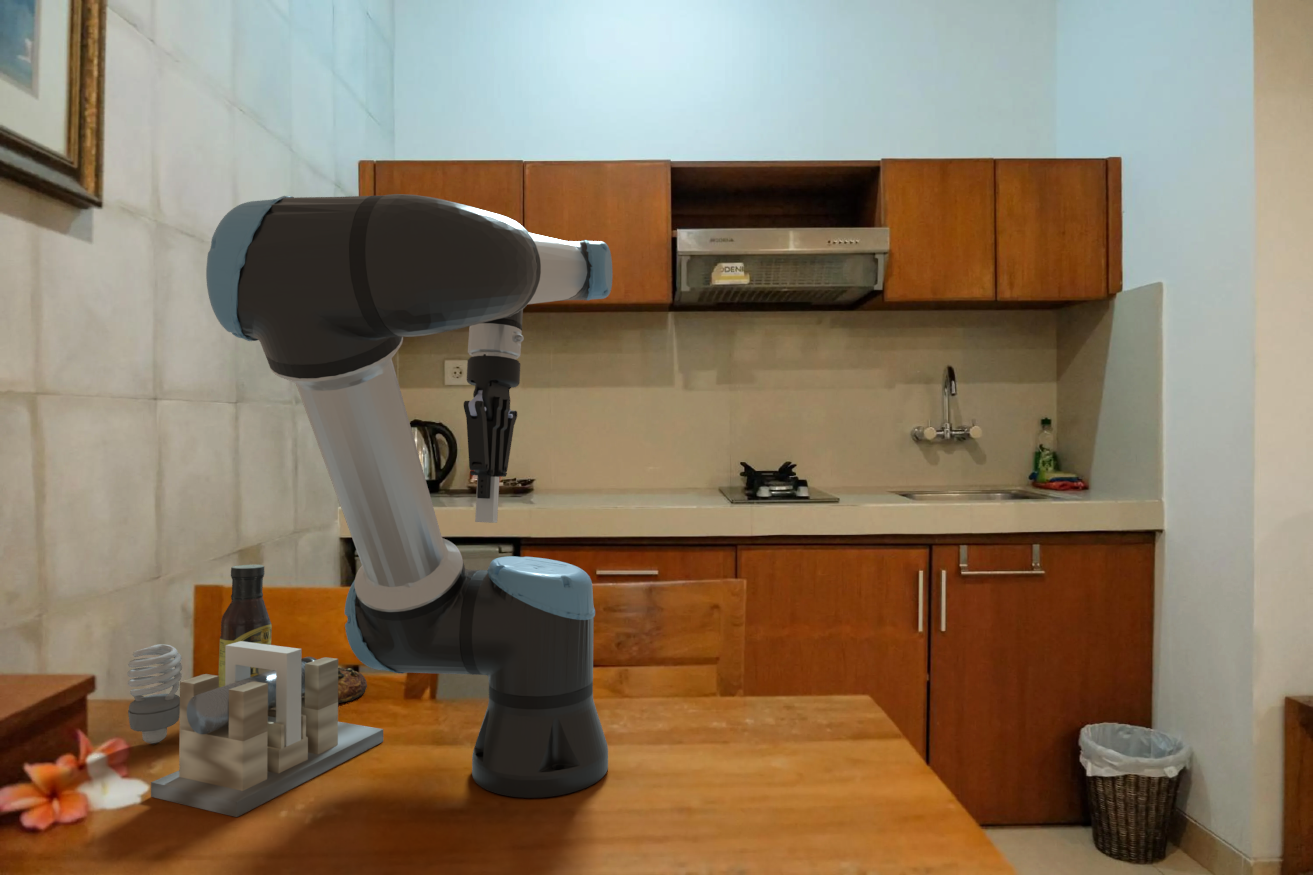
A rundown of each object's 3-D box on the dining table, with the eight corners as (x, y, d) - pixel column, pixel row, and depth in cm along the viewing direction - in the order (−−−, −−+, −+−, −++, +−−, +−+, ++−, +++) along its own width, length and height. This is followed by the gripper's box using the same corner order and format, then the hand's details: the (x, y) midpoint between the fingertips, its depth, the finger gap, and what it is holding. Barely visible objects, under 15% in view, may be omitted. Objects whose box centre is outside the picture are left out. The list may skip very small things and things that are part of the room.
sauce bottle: (247, 723, 103) (248, 571, 103) (206, 720, 104) (207, 569, 104) (281, 707, 109) (282, 563, 109) (241, 704, 111) (242, 561, 111)
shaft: (296, 691, 95) (296, 654, 95) (324, 695, 93) (324, 658, 93) (185, 733, 81) (185, 690, 81) (216, 739, 80) (216, 695, 80)
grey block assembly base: (383, 741, 97) (383, 647, 97) (236, 817, 78) (237, 699, 78) (307, 728, 101) (308, 638, 101) (150, 796, 82) (151, 685, 82)
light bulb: (186, 733, 99) (187, 637, 99) (175, 749, 94) (175, 648, 94) (134, 738, 98) (135, 641, 98) (120, 755, 92) (120, 652, 92)
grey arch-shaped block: (300, 739, 87) (301, 648, 87) (286, 746, 85) (287, 653, 85) (240, 728, 90) (240, 640, 90) (224, 734, 88) (225, 645, 88)
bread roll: (383, 686, 119) (379, 654, 118) (337, 721, 108) (332, 686, 108) (319, 683, 122) (315, 652, 121) (267, 717, 111) (263, 683, 110)
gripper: (498, 349, 107) (490, 524, 105) (536, 365, 120) (528, 522, 118) (448, 350, 109) (439, 522, 107) (490, 366, 122) (482, 520, 120)
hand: (486, 522), depth 113 cm, fingers closed
